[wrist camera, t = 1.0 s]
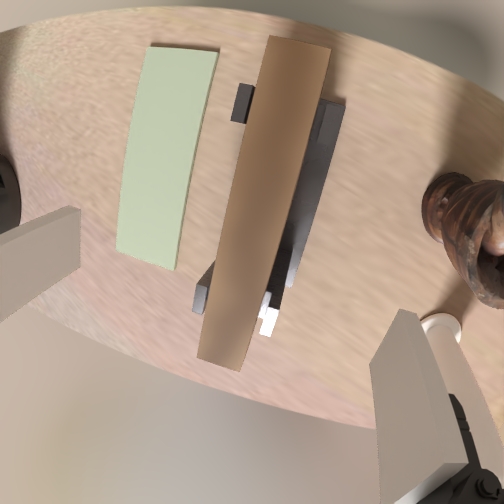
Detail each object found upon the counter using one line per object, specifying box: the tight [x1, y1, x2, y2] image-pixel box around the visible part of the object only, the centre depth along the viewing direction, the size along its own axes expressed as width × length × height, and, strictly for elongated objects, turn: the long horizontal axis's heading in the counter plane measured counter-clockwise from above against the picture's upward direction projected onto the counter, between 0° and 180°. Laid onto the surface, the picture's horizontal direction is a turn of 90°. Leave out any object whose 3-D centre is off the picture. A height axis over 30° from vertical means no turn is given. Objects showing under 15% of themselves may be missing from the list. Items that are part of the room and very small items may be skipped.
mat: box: [116, 47, 219, 271], centre depth 32 cm, size 8×24×1 cm, turn 167°
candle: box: [420, 313, 504, 489], centre depth 21 cm, size 7×7×25 cm
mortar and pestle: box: [422, 173, 504, 309], centre depth 19 cm, size 12×9×20 cm
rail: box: [197, 35, 331, 372], centre depth 20 cm, size 3×22×3 cm, turn 167°
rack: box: [192, 83, 346, 337], centre depth 25 cm, size 8×19×12 cm, turn 167°
